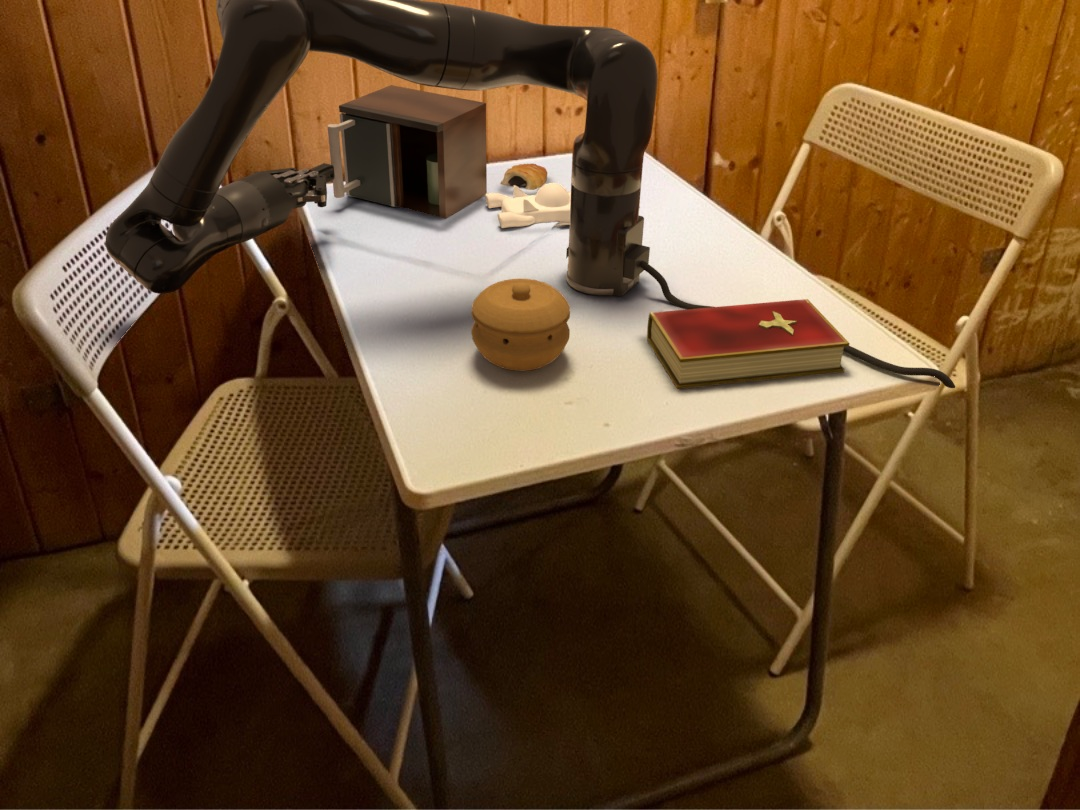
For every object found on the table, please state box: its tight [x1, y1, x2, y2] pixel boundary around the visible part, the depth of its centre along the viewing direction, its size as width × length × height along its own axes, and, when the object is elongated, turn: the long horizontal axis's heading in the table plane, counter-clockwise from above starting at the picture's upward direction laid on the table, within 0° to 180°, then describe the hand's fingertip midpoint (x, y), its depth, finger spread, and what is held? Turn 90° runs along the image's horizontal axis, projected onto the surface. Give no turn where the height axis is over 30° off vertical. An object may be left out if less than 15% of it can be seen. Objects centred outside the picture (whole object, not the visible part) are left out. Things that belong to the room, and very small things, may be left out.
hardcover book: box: [646, 298, 850, 390], centre depth 123 cm, size 12×21×4 cm, turn 102°
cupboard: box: [338, 84, 488, 220], centre depth 159 cm, size 13×18×16 cm
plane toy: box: [484, 182, 571, 229], centre depth 157 cm, size 10×20×6 cm, turn 106°
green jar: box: [426, 153, 439, 205], centre depth 160 cm, size 5×5×7 cm
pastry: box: [500, 163, 548, 191], centre depth 170 cm, size 9×7×4 cm
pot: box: [470, 278, 571, 372], centre depth 120 cm, size 12×12×10 cm
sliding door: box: [327, 112, 397, 208], centre depth 154 cm, size 6×9×13 cm, turn 61°
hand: (330, 170), depth 147 cm, fingers closed
